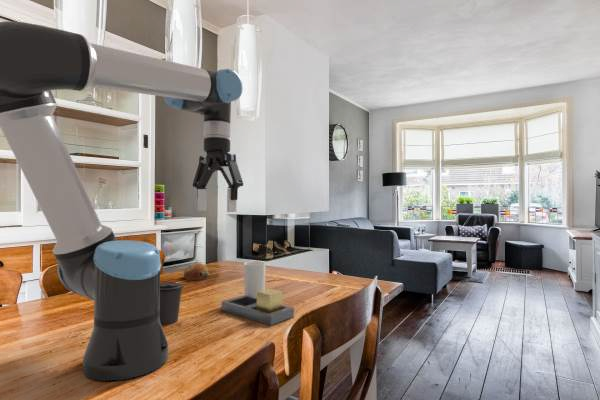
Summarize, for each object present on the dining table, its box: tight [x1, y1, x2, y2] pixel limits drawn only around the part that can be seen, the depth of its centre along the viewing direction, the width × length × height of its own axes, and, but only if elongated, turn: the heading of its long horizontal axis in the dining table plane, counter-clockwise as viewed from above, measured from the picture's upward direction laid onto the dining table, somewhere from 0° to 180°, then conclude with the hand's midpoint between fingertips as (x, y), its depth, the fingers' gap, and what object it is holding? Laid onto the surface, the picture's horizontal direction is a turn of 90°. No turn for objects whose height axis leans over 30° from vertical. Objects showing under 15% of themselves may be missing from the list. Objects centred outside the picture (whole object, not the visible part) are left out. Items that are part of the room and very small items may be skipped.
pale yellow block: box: [257, 288, 283, 313], centre depth 99 cm, size 5×5×7 cm
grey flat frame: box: [221, 295, 295, 326], centre depth 102 cm, size 9×20×2 cm, turn 51°
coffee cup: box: [160, 281, 184, 326], centre depth 95 cm, size 8×8×10 cm
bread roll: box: [183, 262, 211, 281], centre depth 147 cm, size 10×10×8 cm
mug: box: [243, 261, 266, 298], centre depth 116 cm, size 10×7×12 cm, turn 157°
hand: (216, 211), depth 104 cm, fingers open, 13 cm apart
